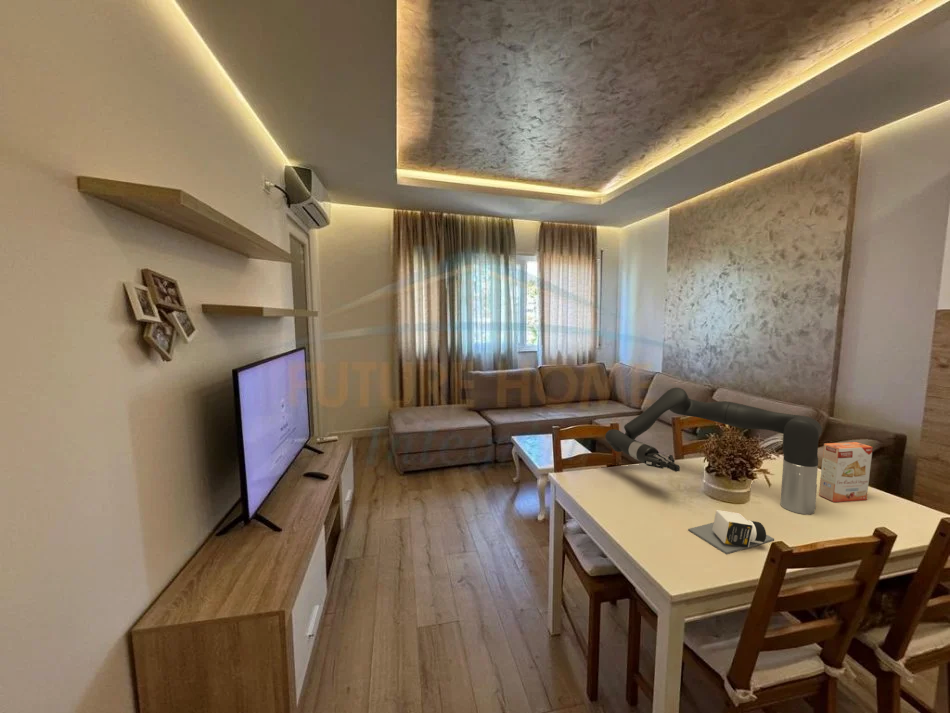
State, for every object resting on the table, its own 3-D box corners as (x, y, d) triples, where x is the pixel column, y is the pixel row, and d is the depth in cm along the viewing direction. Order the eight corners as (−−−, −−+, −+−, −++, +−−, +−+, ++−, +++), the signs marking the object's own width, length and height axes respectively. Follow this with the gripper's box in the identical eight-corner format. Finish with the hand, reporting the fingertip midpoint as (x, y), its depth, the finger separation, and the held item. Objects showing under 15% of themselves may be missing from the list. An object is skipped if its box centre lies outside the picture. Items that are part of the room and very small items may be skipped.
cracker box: (834, 503, 135) (839, 448, 133) (818, 495, 141) (822, 442, 139) (868, 500, 137) (873, 446, 135) (850, 493, 143) (855, 440, 141)
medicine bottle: (728, 521, 110) (771, 528, 108) (715, 509, 117) (756, 515, 115) (723, 543, 110) (766, 551, 109) (711, 530, 118) (752, 536, 116)
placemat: (733, 519, 126) (733, 517, 126) (774, 540, 114) (774, 538, 114) (688, 530, 120) (688, 528, 120) (726, 554, 108) (726, 552, 108)
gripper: (630, 445, 149) (664, 461, 132) (656, 442, 153) (692, 456, 136) (629, 463, 150) (663, 481, 133) (655, 459, 154) (691, 476, 137)
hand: (678, 468), depth 135 cm, fingers closed
